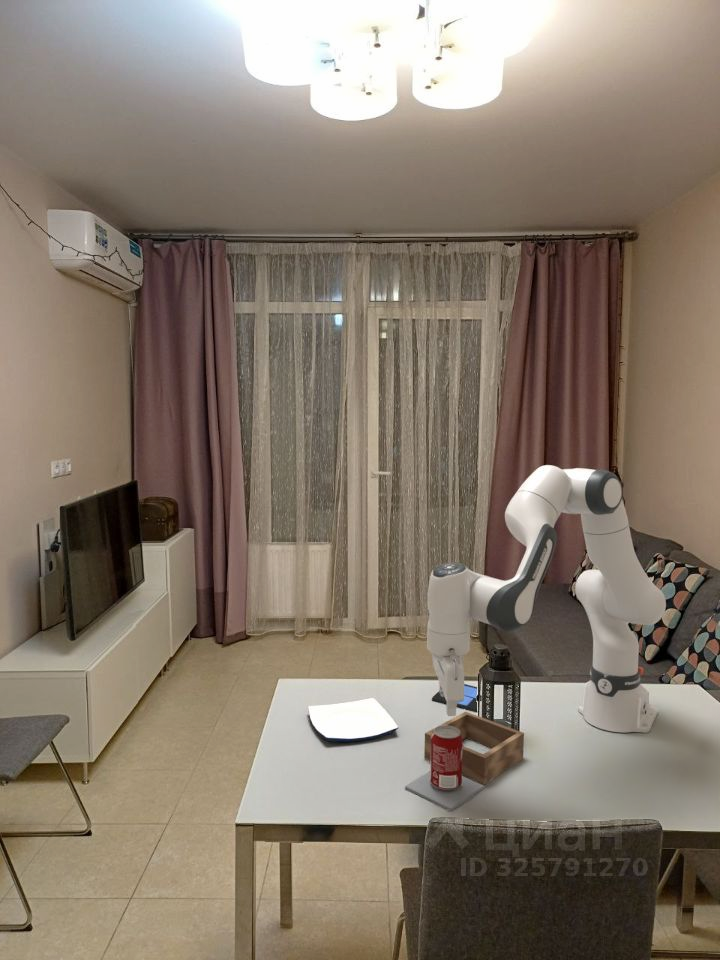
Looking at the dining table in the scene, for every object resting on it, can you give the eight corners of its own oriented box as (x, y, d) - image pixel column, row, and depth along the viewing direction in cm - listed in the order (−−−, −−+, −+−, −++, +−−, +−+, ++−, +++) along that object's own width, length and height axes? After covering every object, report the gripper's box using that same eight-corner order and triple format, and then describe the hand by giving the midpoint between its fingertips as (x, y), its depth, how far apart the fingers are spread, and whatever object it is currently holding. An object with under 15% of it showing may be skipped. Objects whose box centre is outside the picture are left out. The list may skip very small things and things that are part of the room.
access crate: (464, 734, 171) (465, 711, 171) (523, 757, 160) (524, 733, 160) (424, 757, 160) (424, 733, 159) (484, 784, 148) (485, 758, 148)
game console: (430, 702, 192) (430, 694, 191) (450, 687, 202) (450, 680, 202) (478, 715, 184) (478, 707, 184) (496, 698, 195) (496, 691, 194)
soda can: (460, 795, 143) (461, 740, 142) (427, 790, 145) (429, 736, 143) (463, 778, 149) (464, 726, 148) (432, 774, 151) (433, 722, 150)
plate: (375, 705, 189) (375, 696, 189) (403, 739, 170) (403, 728, 169) (303, 714, 182) (303, 705, 182) (323, 750, 163) (323, 740, 163)
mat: (438, 768, 155) (439, 765, 155) (483, 788, 147) (484, 785, 147) (405, 788, 146) (405, 786, 146) (450, 811, 138) (450, 808, 138)
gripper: (472, 659, 133) (471, 727, 135) (455, 626, 154) (454, 685, 155) (440, 659, 133) (439, 727, 134) (427, 626, 153) (426, 685, 155)
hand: (447, 704), depth 145 cm, fingers open, 8 cm apart
